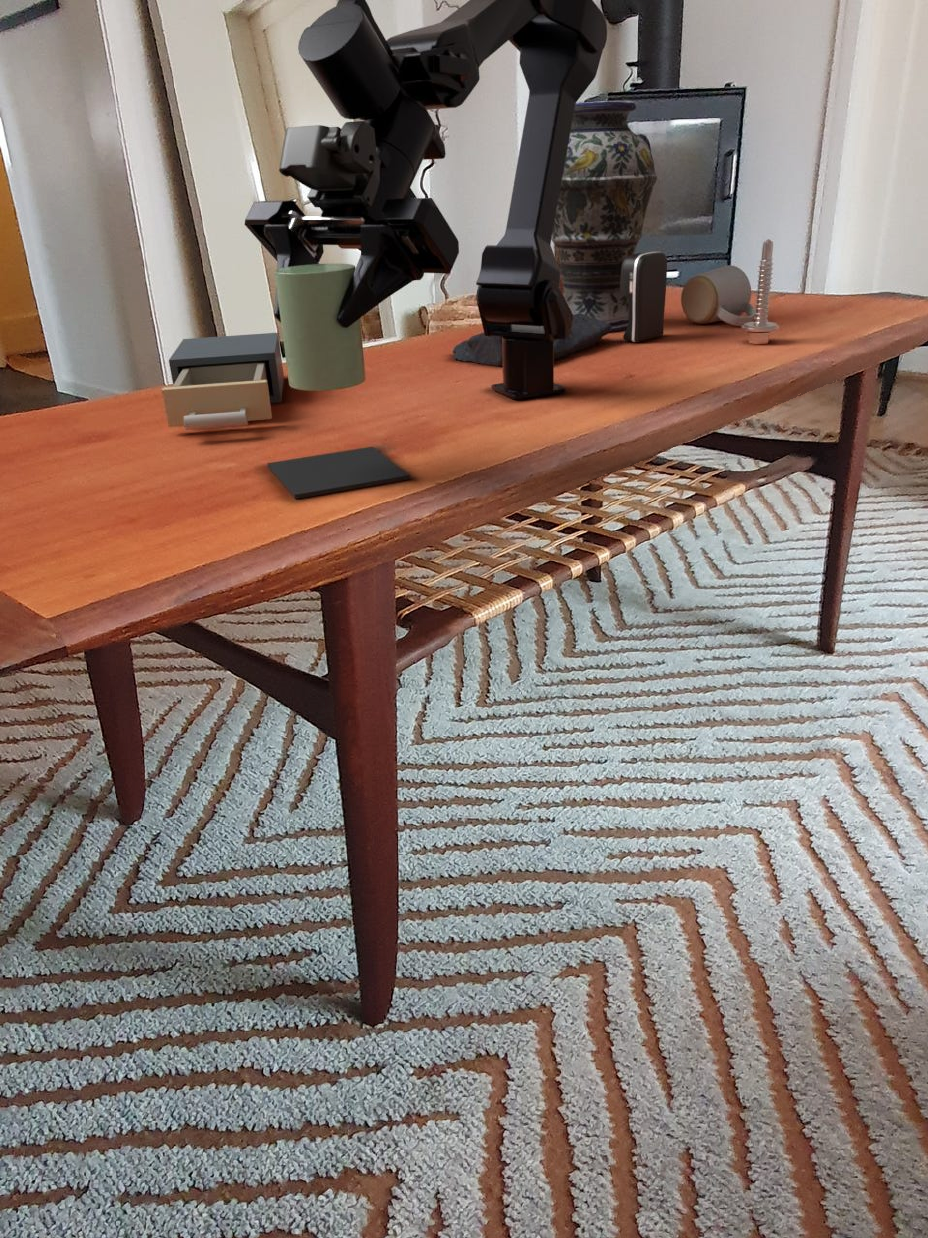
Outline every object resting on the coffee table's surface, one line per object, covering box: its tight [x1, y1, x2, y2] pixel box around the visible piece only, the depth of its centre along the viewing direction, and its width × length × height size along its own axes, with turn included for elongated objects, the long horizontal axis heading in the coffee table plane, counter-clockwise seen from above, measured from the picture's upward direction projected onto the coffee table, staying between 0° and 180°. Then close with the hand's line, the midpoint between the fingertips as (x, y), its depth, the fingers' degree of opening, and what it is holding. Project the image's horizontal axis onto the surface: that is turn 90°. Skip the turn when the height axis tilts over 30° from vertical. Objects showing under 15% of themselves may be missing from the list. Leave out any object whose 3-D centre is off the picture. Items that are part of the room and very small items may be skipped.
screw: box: [740, 238, 780, 345], centre depth 123 cm, size 13×5×5 cm
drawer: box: [161, 361, 273, 431], centre depth 99 cm, size 16×10×4 cm, turn 9°
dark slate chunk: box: [452, 313, 612, 367], centre depth 127 cm, size 15×22×5 cm
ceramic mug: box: [680, 265, 756, 327], centre depth 139 cm, size 11×8×8 cm
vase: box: [551, 100, 658, 333], centre depth 136 cm, size 17×17×30 cm
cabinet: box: [168, 332, 285, 404], centre depth 111 cm, size 14×12×6 cm
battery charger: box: [620, 251, 668, 343], centre depth 130 cm, size 7×4×11 cm, turn 137°
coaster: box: [267, 446, 411, 500], centre depth 82 cm, size 10×10×1 cm
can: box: [274, 263, 367, 392], centre depth 76 cm, size 6×6×9 cm
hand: (309, 322), depth 75 cm, fingers closed on can, 6 cm apart
